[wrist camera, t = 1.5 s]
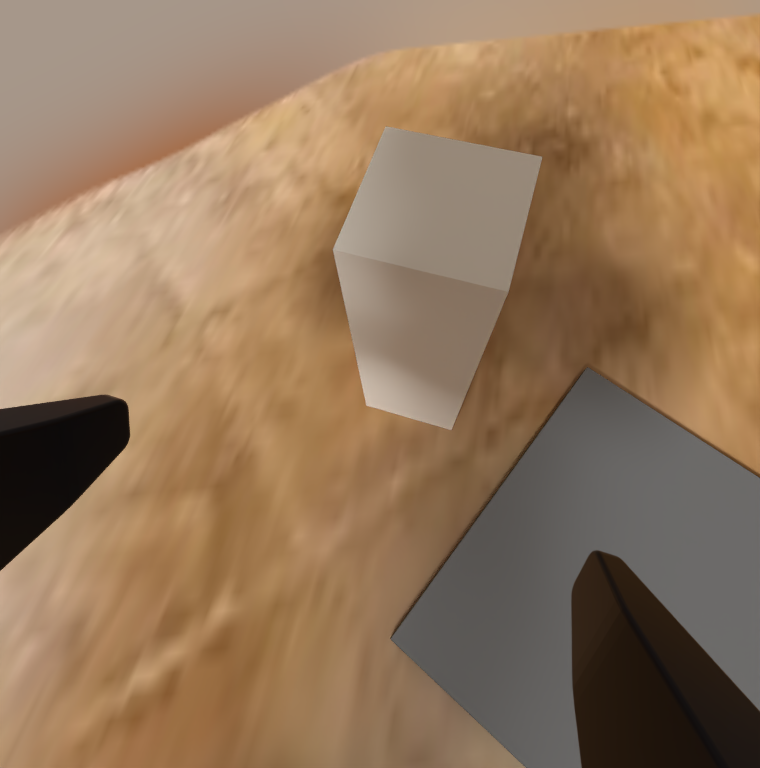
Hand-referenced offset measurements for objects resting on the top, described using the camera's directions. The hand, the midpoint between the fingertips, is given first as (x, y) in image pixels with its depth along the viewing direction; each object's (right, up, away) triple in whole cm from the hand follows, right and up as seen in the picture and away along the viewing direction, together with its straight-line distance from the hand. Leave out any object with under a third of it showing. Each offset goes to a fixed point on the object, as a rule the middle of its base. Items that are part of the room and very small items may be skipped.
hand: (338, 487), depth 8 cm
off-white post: (+3, +2, +15) cm, 16 cm away
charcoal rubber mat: (+13, -8, +11) cm, 18 cm away
